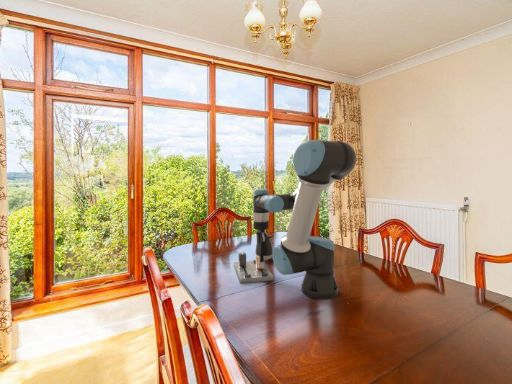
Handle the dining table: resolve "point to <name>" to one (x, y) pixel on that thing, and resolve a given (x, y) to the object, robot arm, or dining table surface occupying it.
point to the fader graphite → (242, 259)
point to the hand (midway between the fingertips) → (261, 267)
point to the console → (252, 272)
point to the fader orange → (257, 263)
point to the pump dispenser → (267, 248)
